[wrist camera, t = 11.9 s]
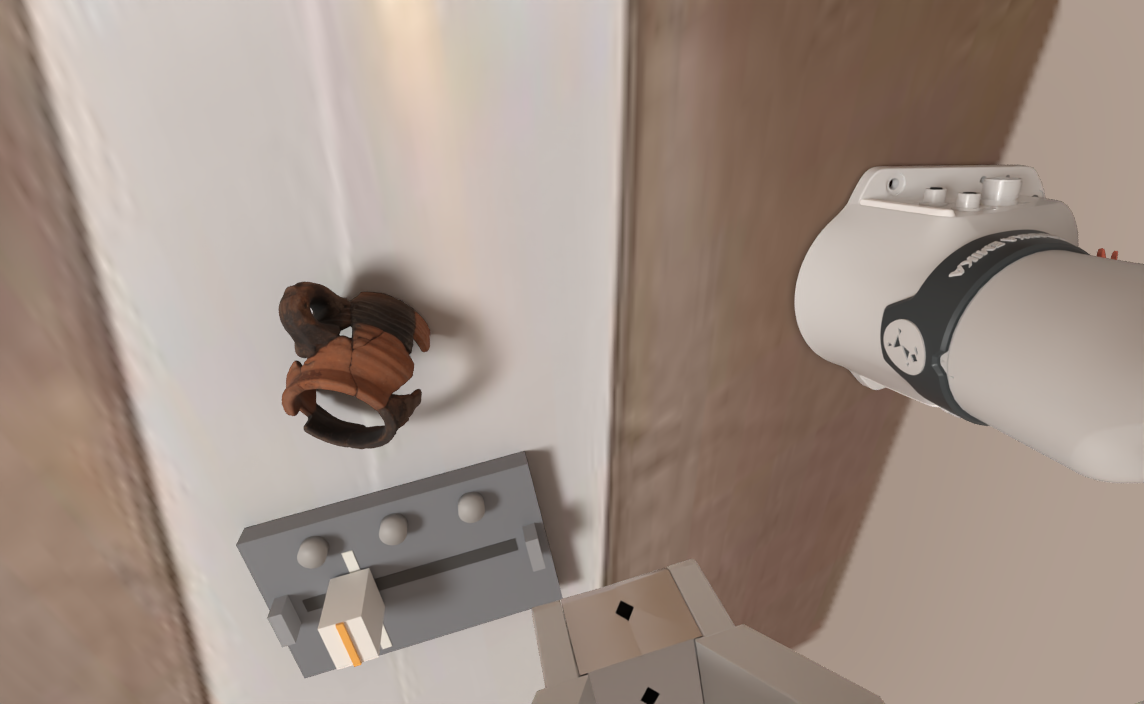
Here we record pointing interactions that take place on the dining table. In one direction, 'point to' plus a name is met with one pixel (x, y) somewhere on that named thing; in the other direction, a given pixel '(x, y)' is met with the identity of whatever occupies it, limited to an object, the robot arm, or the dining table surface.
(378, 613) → the fader tab
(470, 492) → the console
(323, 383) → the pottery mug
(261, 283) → the dining table surface
